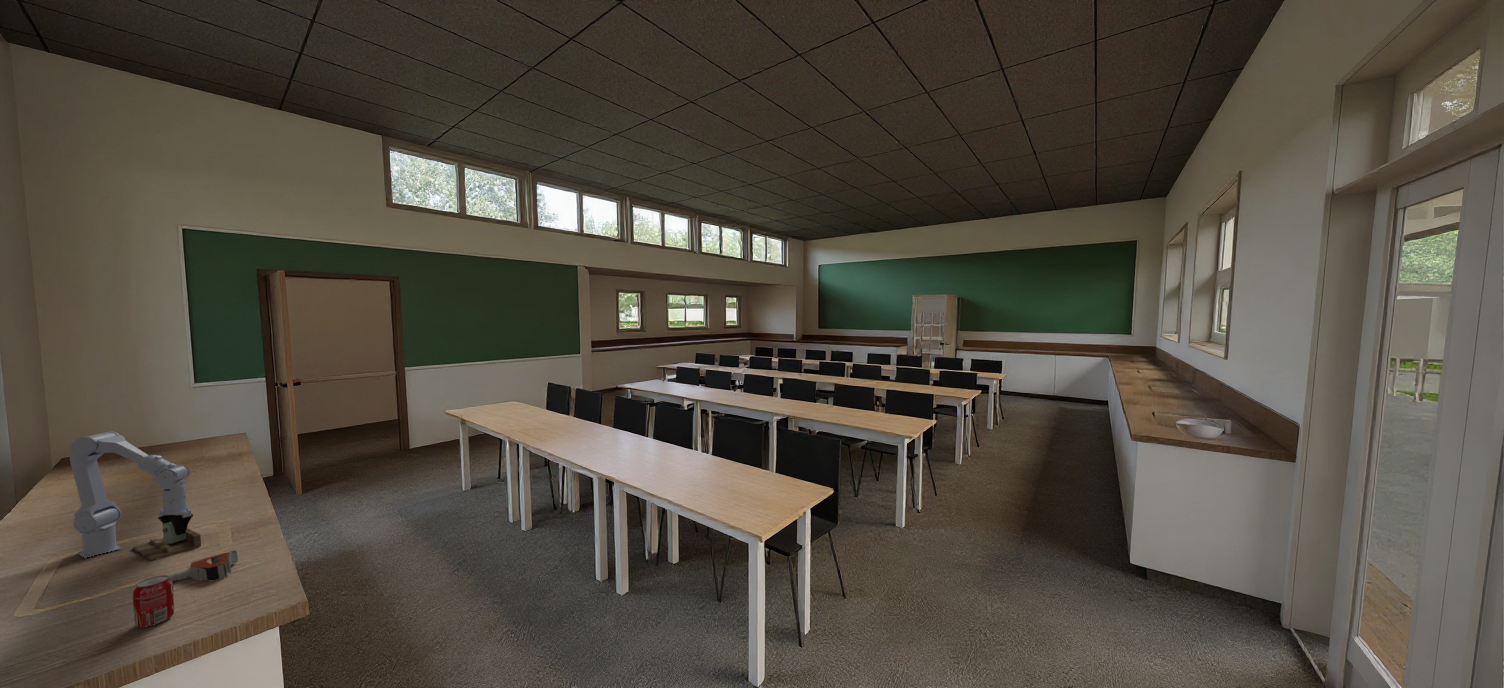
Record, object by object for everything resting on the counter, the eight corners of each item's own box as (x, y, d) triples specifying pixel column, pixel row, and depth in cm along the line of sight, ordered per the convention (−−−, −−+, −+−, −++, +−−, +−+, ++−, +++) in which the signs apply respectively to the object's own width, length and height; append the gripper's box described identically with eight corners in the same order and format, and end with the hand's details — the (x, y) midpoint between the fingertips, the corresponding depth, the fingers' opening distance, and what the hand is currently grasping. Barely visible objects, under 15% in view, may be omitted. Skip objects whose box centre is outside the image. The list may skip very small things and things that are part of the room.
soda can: (156, 614, 136) (153, 574, 136) (182, 613, 137) (180, 573, 136) (125, 630, 129) (123, 588, 129) (154, 629, 130) (151, 587, 129)
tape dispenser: (139, 595, 149) (198, 592, 148) (136, 579, 149) (195, 577, 148) (205, 563, 167) (258, 561, 166) (203, 549, 166) (256, 547, 165)
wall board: (132, 549, 176) (131, 537, 175) (181, 535, 186) (181, 524, 186) (150, 560, 167) (150, 548, 167) (201, 546, 178) (200, 534, 177)
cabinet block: (160, 543, 176) (159, 525, 176) (179, 537, 181) (177, 519, 180) (168, 544, 175) (166, 526, 175) (186, 538, 180) (185, 520, 179)
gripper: (146, 500, 176) (149, 535, 177) (171, 504, 172) (173, 540, 173) (174, 493, 183) (176, 527, 184) (198, 497, 179) (200, 532, 180)
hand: (176, 533), depth 179 cm, fingers closed on cabinet block, 4 cm apart
